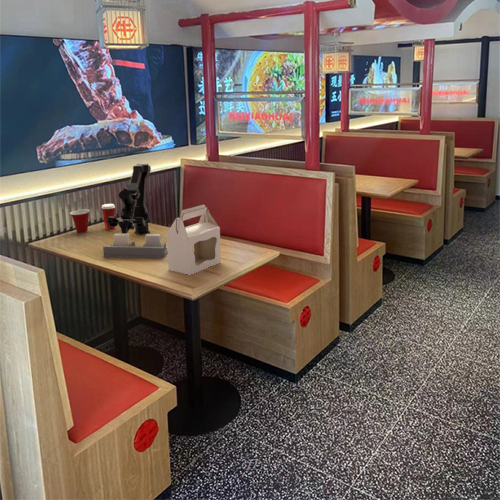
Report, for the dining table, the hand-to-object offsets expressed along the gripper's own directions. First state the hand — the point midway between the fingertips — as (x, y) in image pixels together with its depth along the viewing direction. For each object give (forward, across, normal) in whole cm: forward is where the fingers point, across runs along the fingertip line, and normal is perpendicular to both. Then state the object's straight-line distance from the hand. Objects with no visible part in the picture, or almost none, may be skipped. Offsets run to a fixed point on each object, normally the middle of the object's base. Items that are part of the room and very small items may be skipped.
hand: (123, 236), depth 276 cm
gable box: (+21, -40, +10) cm, 46 cm away
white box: (+6, -16, -2) cm, 17 cm away
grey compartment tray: (+9, -8, -2) cm, 12 cm away
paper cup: (-23, +21, -33) cm, 46 cm away
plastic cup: (-18, +35, -28) cm, 49 cm away
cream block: (+6, 0, -2) cm, 7 cm away
